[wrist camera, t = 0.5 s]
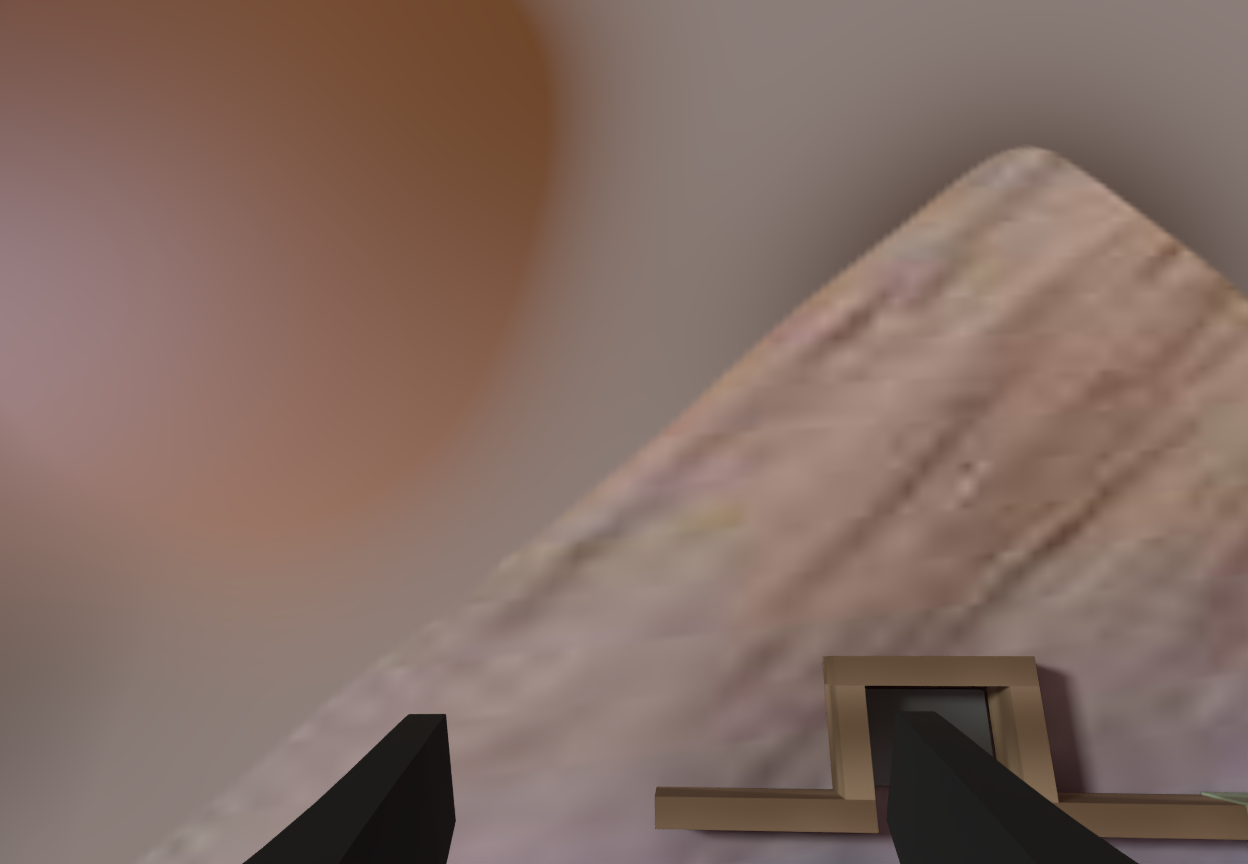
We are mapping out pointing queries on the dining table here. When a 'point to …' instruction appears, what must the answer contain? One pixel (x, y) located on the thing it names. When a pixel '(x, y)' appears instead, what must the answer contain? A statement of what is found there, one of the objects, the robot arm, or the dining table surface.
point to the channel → (1016, 725)
